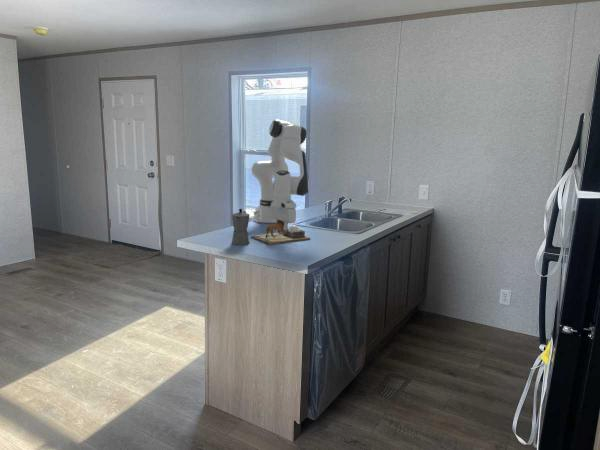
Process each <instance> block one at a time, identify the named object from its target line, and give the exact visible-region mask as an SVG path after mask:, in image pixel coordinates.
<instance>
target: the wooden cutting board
mask: <svg viewBox="0 0 600 450" xmlns="http://www.w3.org/2000/svg"><path fill="white" fill-rule="evenodd" d="M288 229H289V228H288ZM288 229H287V230H285V231H284V232H286V234H284V233H283V232H282V233H281V232H279V233H278V232H273V235H274V236H275V237H273V236H271V233H268V236H269V237H267V238H266V233H265V234H256V235H250V238H251V239H254V240H256V241H258V242H260V243H263V244H266V245H268V246H272V245H273V246H274V245H280V244H287V243H296V242H301V241H303V242H304V241H308V240H309V241H310V240H311V237H309V236H306V231H305V230H303V229H300V231H298V232H290V231H288ZM265 238H266V239H265Z"/></svg>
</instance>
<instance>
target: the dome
mask: <svg viewBox="0 0 600 450" xmlns="http://www.w3.org/2000/svg"><path fill="white" fill-rule="evenodd" d="M300 230H301V229H300V228H299V226H297V225H295V224H293V225H290V226H289V227H288V231H290V232H298V231H300Z"/></svg>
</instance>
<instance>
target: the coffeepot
mask: <svg viewBox="0 0 600 450" xmlns="http://www.w3.org/2000/svg"><path fill="white" fill-rule="evenodd" d="M238 211H239V212H235V213H234V212H233V213H231V218H232V225H233V232H232V233H233V234H232V237H231V238H232V240H231V243H232V245H234V244H235V245H234V246H246V244H247V245H249V244H250V240H249V233H248V227H249V221H250V217H251V216H250V214H249V213H247V212H246V211H245V210H243V209H242V208H239V209H238Z"/></svg>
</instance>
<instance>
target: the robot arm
mask: <svg viewBox="0 0 600 450" xmlns="http://www.w3.org/2000/svg"><path fill="white" fill-rule="evenodd" d="M268 130H269V135H270V137H272V139H271V141H270V143H269V147H268V150H267V152H268V155H269V156H270V157H271V159H270V160H260V161H255V162H253V164H252V166H251V174H252V176H254V178H255V179H256V180H257V181H258V183H259V185H260V197H261V199H259V205H258V206H257V207H256V208H255V209H254V211H253V216H250V219H251V220H253V222H256V223H264V224H265V223H266V224H268V223H269V224H276V223H278V221H279V220H281V221H284V226H283V230H287V226H288V225H289V224H294V223H296V221H297V220H296V219H297V210H296V208H297V203H296V202H294V201H293V199H292V196H293V195H296V196H301V197H302V196H305V195H307V194H308V193H309V192H310V187H311V186H310V181H309V177H308V176H309V175H308V165H307V156H306V153H305V151H304V150H302V149H301V145H302V144H303V143H304V142H305V140H306V139H307V129H306V128H305V127H303V126H301V125H298V124H296V123H294V122H288V121H285V120H281V119H274V120H272V122H271V123H270V125H269V128H268ZM286 159H287V160H289V161H292V162H295V163H296V164H297V165H299V172H300V174H299V176H292V175H291V172H290V171H289V165H288V163H286ZM273 179H274V180H273Z"/></svg>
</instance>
